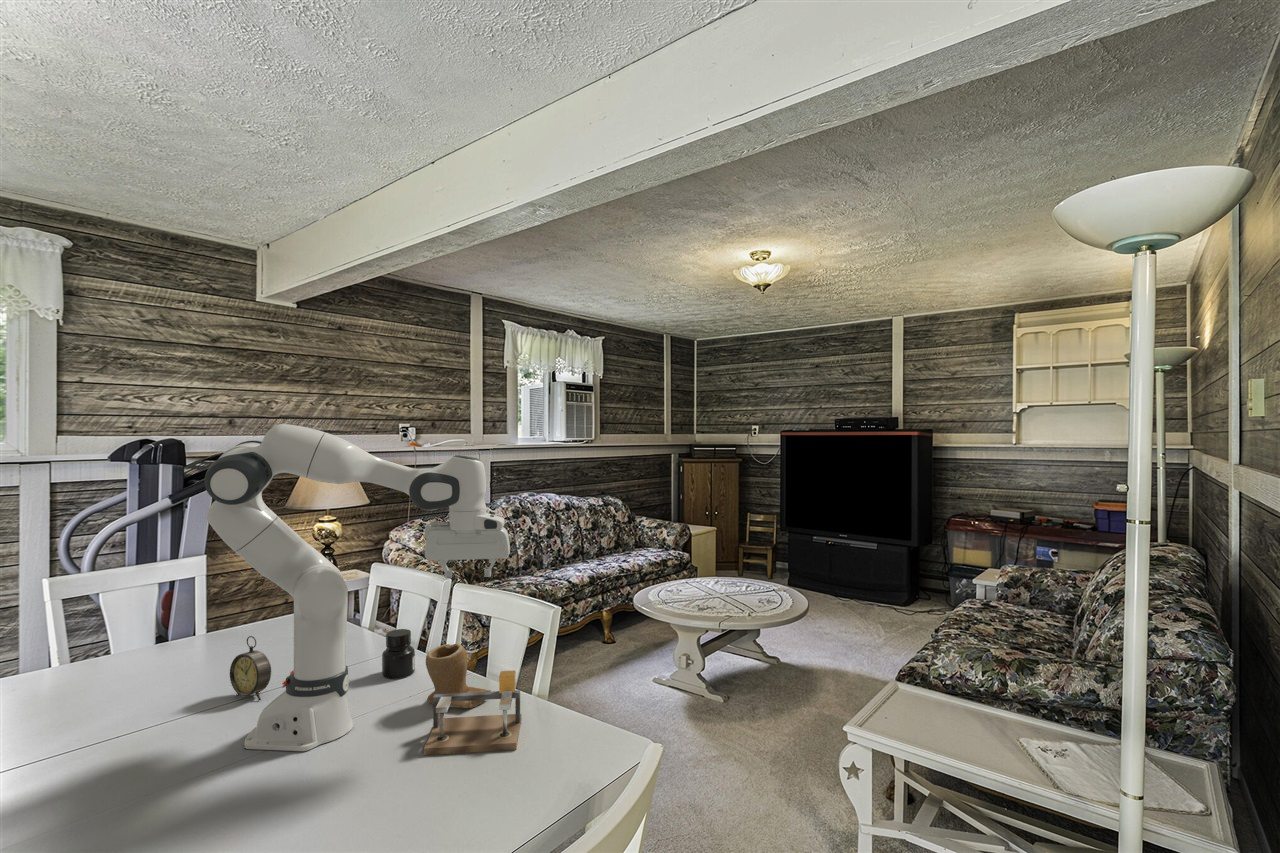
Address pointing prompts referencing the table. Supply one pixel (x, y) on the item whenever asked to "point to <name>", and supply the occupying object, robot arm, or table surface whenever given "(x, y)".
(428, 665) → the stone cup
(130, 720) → the table surface
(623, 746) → the table surface
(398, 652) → the ink bottle
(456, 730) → the hole plate
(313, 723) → the robot arm
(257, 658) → the alarm clock
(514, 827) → the table surface
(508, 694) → the sliding pointer
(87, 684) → the table surface
